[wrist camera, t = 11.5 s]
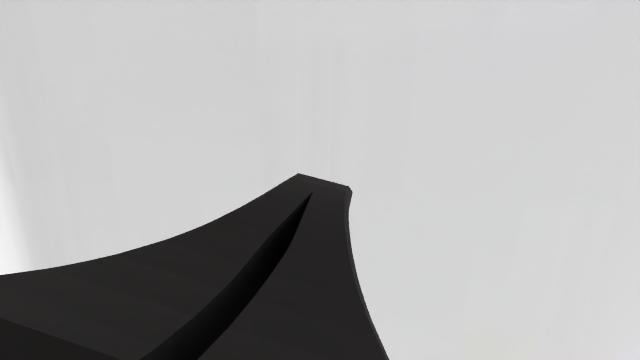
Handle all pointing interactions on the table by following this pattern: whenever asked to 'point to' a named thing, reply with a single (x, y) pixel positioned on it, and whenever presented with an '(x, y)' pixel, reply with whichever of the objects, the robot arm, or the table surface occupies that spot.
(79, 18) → the table surface
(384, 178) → the table surface
